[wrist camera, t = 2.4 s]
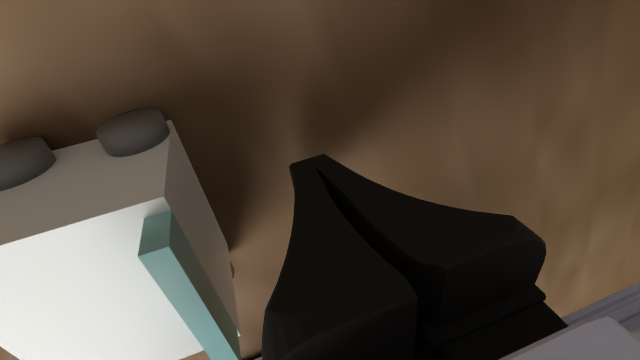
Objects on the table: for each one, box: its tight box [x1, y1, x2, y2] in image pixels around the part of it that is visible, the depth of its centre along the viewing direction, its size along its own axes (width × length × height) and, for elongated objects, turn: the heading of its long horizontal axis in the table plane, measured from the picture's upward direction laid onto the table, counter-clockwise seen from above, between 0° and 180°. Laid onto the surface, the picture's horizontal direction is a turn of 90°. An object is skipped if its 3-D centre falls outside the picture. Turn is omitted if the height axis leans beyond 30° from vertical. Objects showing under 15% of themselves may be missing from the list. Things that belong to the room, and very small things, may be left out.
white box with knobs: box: [0, 108, 241, 360], centre depth 10 cm, size 7×5×6 cm
